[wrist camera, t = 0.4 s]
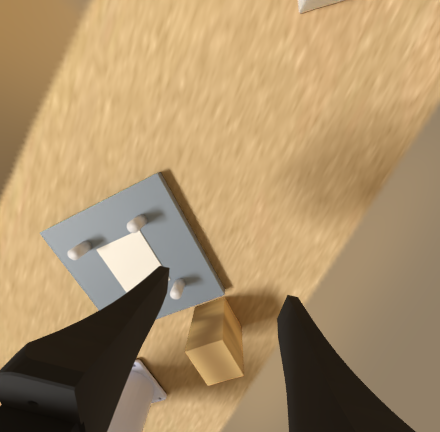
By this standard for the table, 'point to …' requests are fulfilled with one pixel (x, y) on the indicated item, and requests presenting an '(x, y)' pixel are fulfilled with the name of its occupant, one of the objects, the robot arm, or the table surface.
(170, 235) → the pin board
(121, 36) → the table surface
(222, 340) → the ochre block
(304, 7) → the small box
